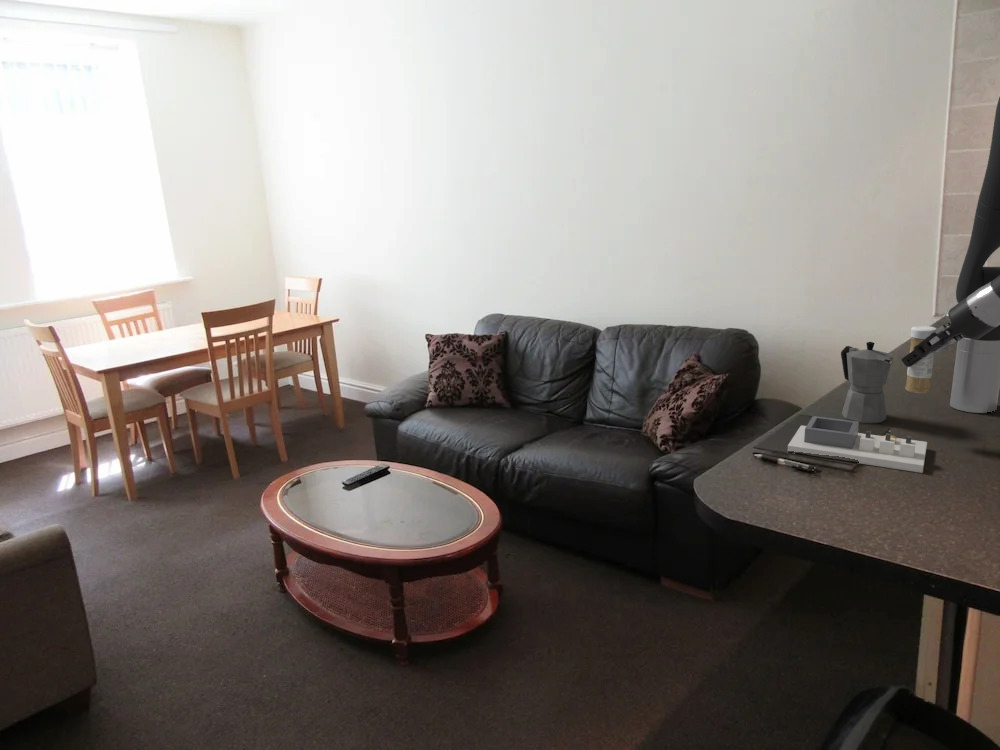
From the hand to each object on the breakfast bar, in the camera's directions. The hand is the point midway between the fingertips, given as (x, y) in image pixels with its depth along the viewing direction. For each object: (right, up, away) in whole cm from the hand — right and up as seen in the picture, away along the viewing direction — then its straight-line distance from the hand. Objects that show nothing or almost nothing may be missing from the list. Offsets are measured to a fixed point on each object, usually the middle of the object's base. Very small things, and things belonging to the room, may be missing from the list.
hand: (910, 360), depth 145 cm
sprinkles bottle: (+2, -6, 0) cm, 7 cm away
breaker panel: (-12, -18, -2) cm, 22 cm away
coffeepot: (-1, -13, +18) cm, 22 cm away
